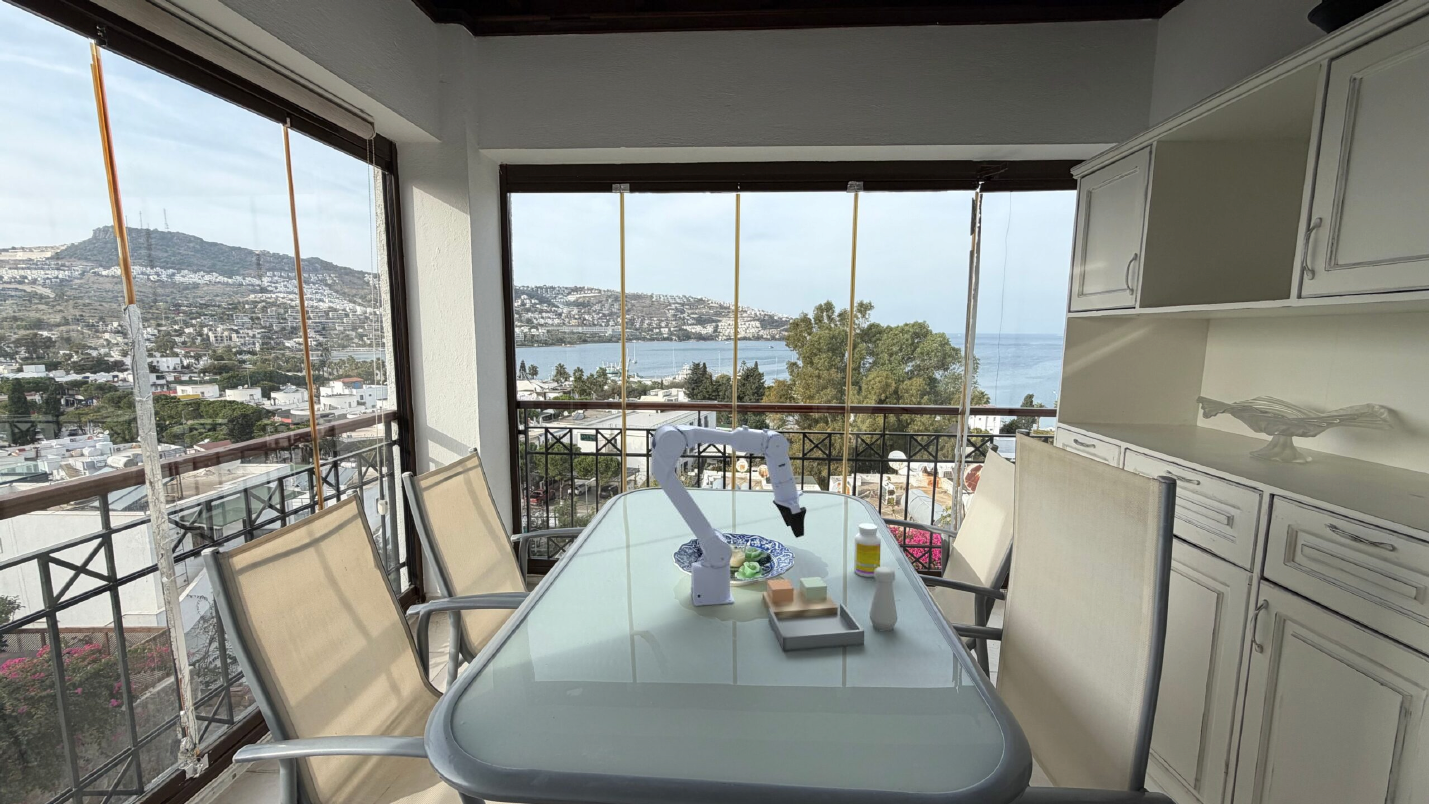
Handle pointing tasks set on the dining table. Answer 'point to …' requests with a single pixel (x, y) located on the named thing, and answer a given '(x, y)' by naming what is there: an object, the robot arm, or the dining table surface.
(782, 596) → the tile terracotta
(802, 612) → the board
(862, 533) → the supplement bottle
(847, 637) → the tray
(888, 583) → the salt shaker
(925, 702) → the dining table surface
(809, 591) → the tile sage
